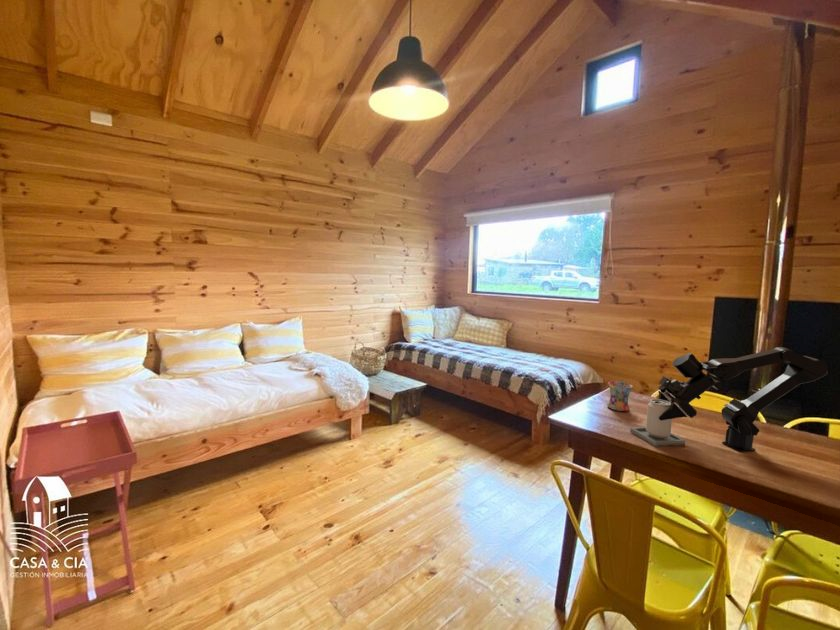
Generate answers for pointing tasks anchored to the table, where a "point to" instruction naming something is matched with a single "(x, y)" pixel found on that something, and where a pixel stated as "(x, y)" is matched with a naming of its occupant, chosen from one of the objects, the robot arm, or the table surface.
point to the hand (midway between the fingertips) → (655, 415)
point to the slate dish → (657, 438)
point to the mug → (619, 395)
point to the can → (654, 423)
